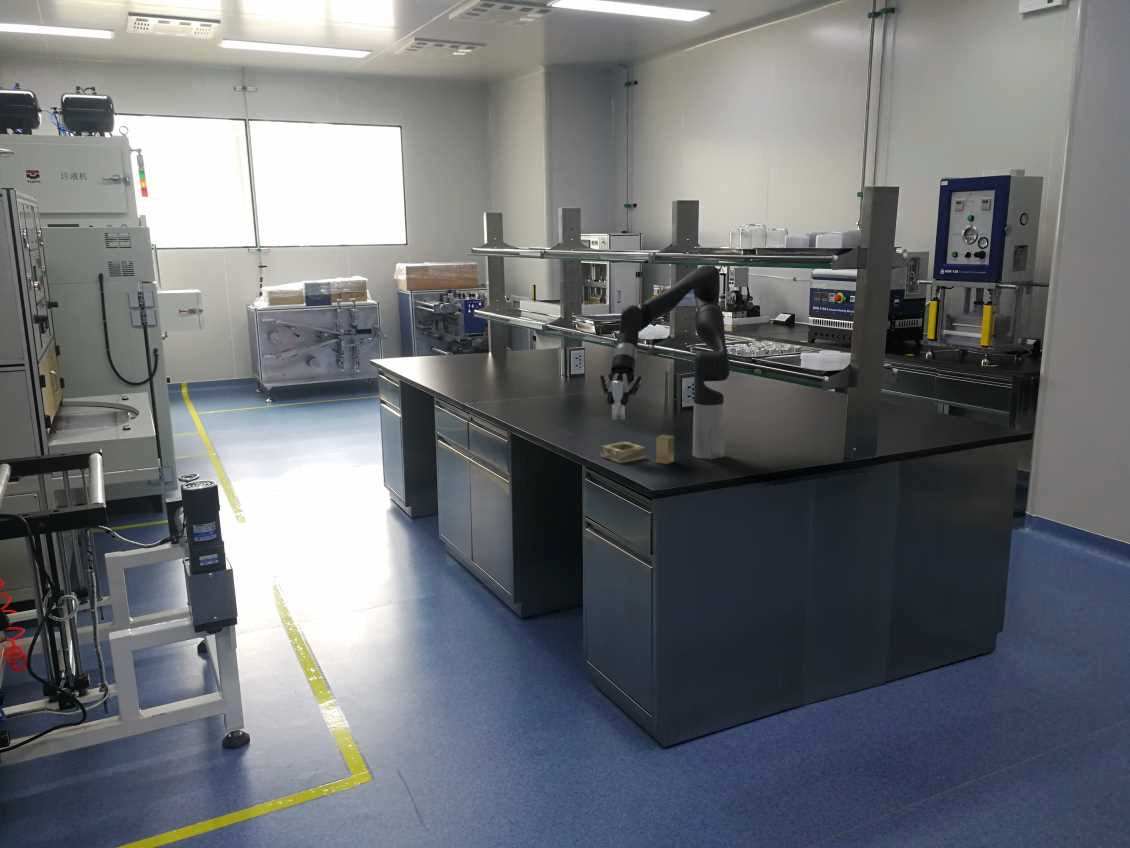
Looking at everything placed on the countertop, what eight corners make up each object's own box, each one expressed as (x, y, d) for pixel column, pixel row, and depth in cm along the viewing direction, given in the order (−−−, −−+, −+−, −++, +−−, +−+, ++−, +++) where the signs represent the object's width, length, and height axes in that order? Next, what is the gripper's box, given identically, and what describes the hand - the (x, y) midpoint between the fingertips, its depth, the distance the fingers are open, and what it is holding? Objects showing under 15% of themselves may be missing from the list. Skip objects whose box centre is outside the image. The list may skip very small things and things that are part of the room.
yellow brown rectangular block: (673, 461, 264) (674, 436, 262) (667, 464, 260) (668, 438, 259) (662, 459, 266) (662, 434, 264) (656, 462, 263) (656, 437, 261)
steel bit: (627, 418, 269) (627, 381, 266) (617, 420, 267) (617, 382, 264) (619, 416, 272) (619, 379, 270) (609, 418, 270) (609, 381, 267)
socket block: (645, 458, 268) (645, 447, 267) (620, 463, 262) (620, 452, 261) (625, 451, 276) (625, 441, 275) (600, 456, 270) (600, 445, 269)
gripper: (647, 367, 276) (641, 411, 268) (604, 366, 280) (596, 410, 271) (644, 353, 270) (637, 398, 262) (601, 352, 274) (592, 397, 265)
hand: (617, 404), depth 267 cm, fingers closed on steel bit, 4 cm apart
